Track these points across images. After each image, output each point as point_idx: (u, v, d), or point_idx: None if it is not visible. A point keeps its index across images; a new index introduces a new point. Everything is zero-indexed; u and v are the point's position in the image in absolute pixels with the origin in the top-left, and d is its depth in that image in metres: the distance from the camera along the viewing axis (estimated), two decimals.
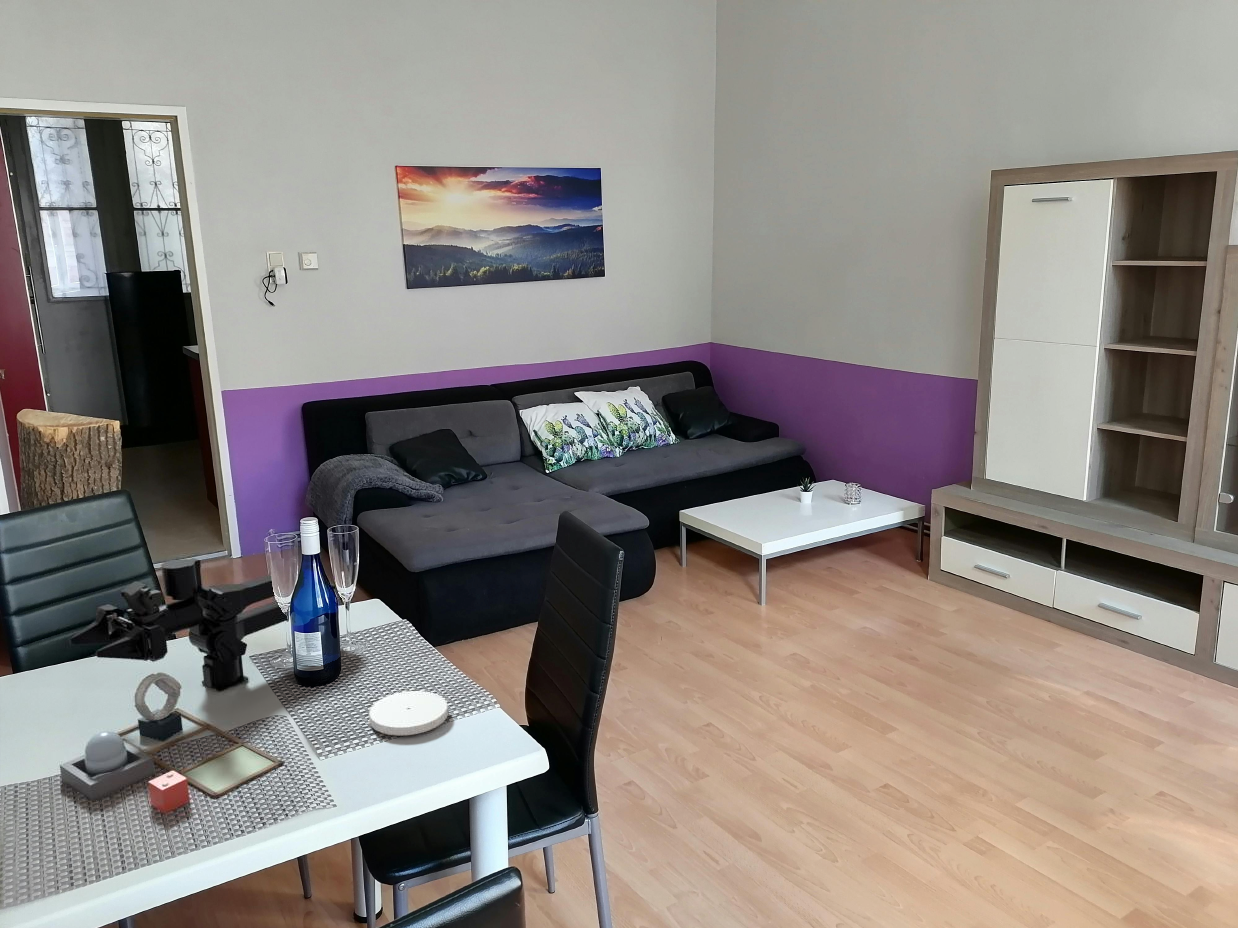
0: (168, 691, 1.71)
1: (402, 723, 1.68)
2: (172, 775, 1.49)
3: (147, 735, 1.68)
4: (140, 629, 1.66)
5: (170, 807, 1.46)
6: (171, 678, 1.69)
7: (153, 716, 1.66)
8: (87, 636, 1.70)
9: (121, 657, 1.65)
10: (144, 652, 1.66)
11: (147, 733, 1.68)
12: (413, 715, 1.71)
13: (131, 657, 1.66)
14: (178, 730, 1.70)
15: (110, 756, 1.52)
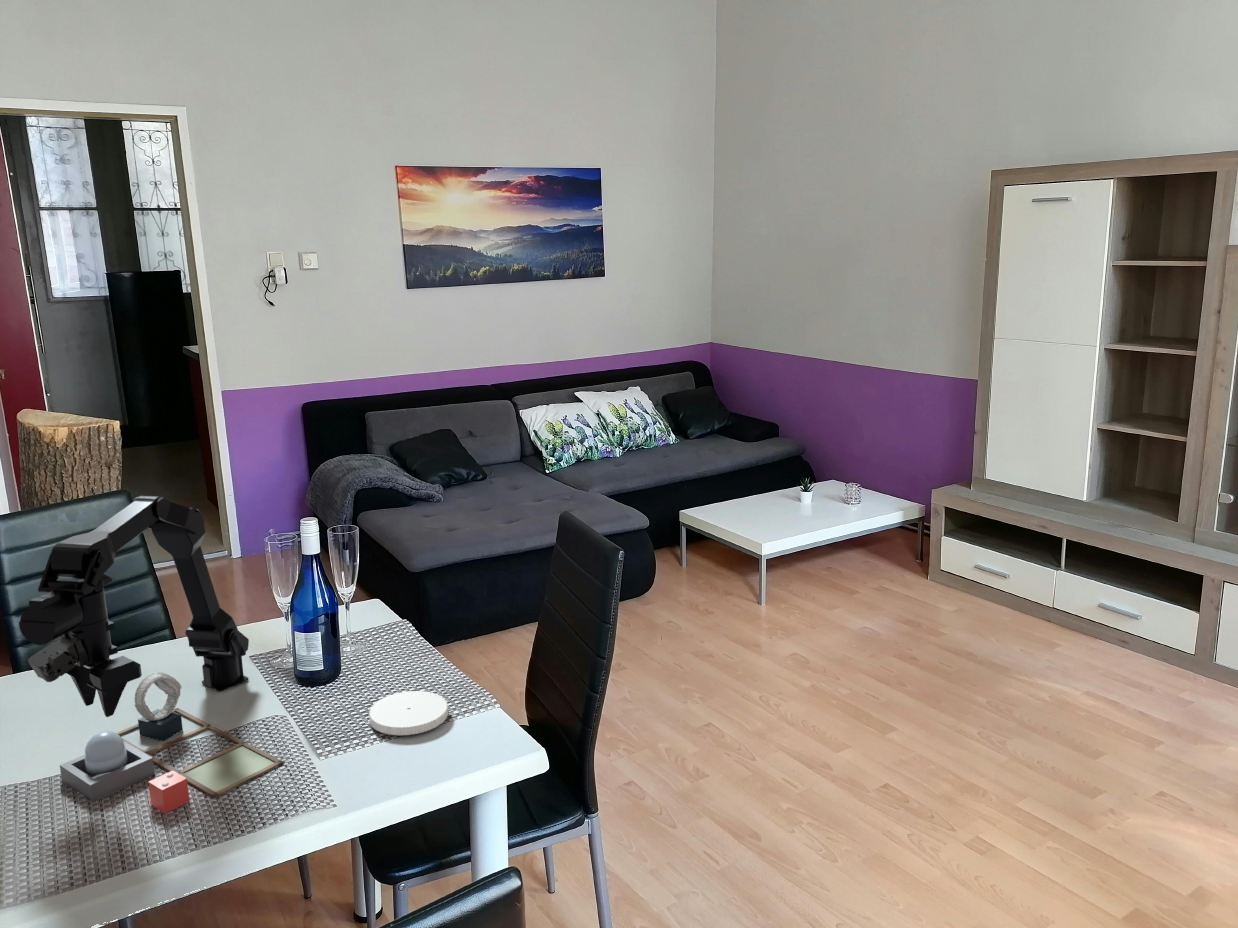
0: (168, 691, 1.71)
1: (402, 723, 1.68)
2: (172, 775, 1.49)
3: (147, 735, 1.68)
4: (94, 688, 1.46)
5: (170, 807, 1.46)
6: (171, 678, 1.69)
7: (153, 716, 1.66)
8: (87, 687, 1.54)
9: (120, 693, 1.51)
10: None
11: (147, 733, 1.68)
12: (413, 715, 1.71)
13: (124, 685, 1.50)
14: (178, 730, 1.70)
15: (110, 756, 1.52)
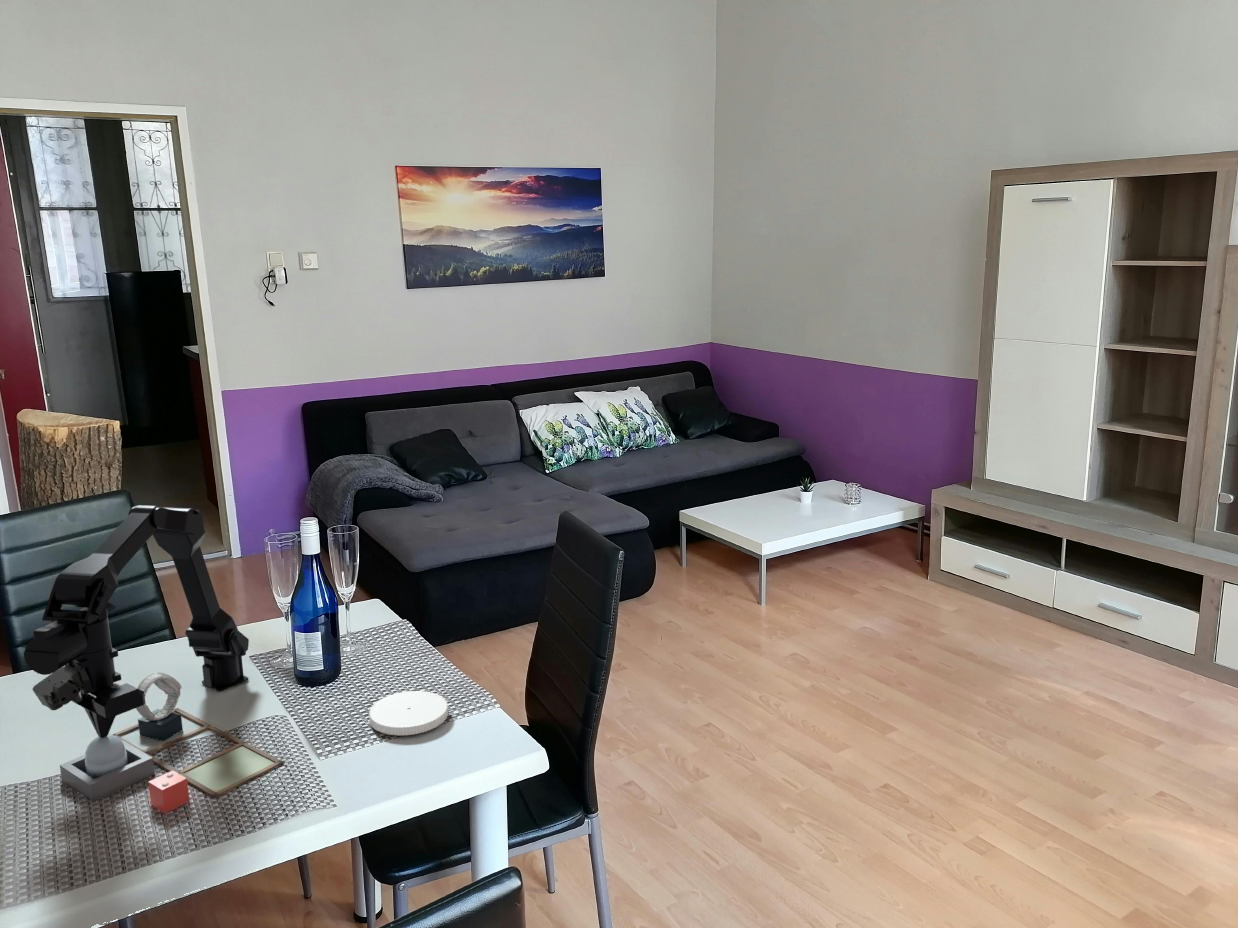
0: (168, 691, 1.71)
1: (402, 723, 1.68)
2: (172, 775, 1.49)
3: (147, 735, 1.68)
4: None
5: (170, 807, 1.46)
6: (171, 678, 1.69)
7: (153, 716, 1.66)
8: None
9: None
10: None
11: (147, 733, 1.68)
12: (413, 715, 1.71)
13: None
14: (178, 730, 1.70)
15: (110, 759, 1.53)
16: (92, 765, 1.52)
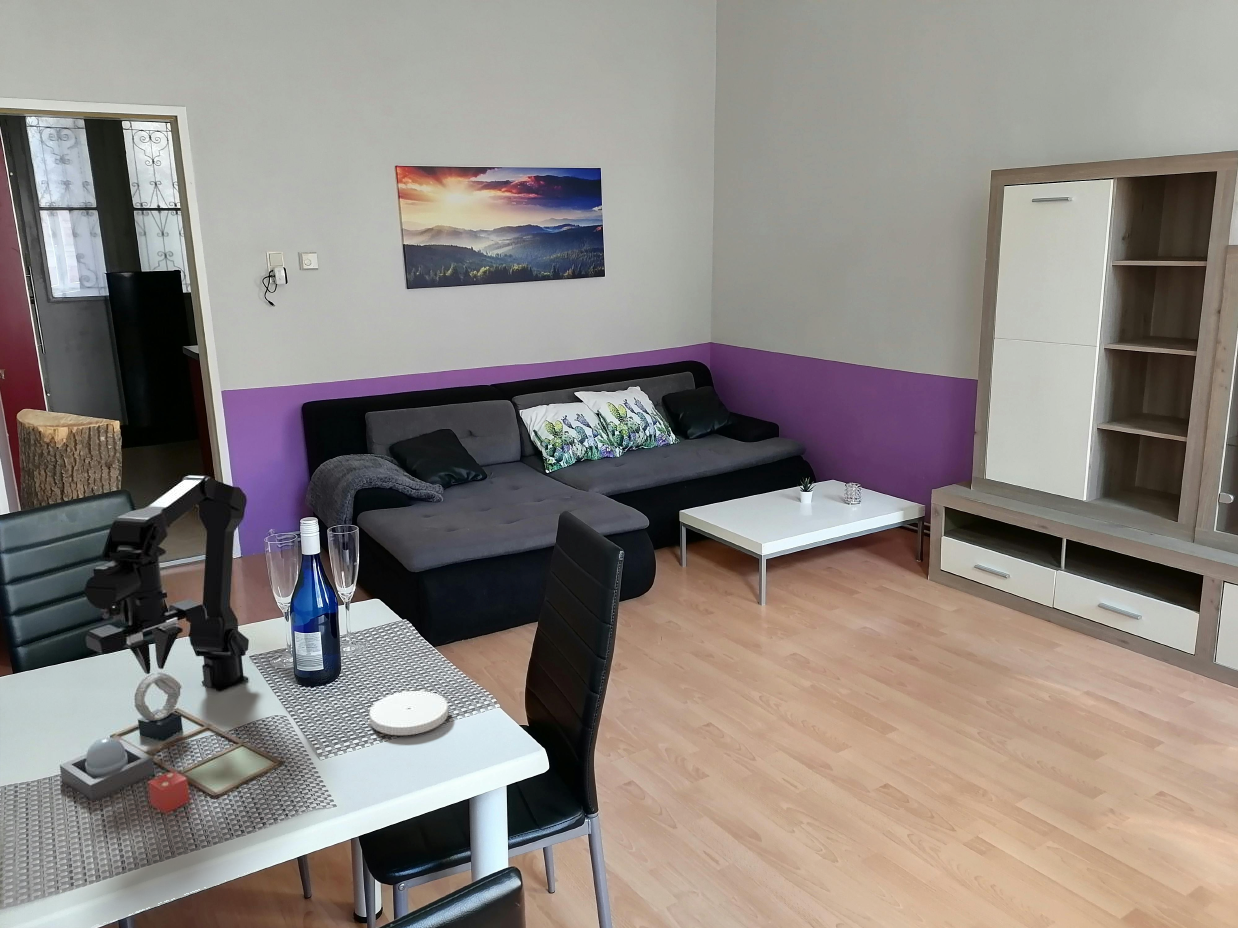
0: (168, 691, 1.71)
1: (402, 723, 1.68)
2: (172, 775, 1.49)
3: (147, 735, 1.68)
4: None
5: (170, 807, 1.46)
6: (171, 678, 1.69)
7: (153, 716, 1.66)
8: (159, 652, 1.67)
9: (143, 659, 1.64)
10: None
11: (147, 733, 1.68)
12: (413, 715, 1.71)
13: (140, 653, 1.63)
14: (178, 730, 1.70)
15: (111, 762, 1.53)
16: (92, 768, 1.52)
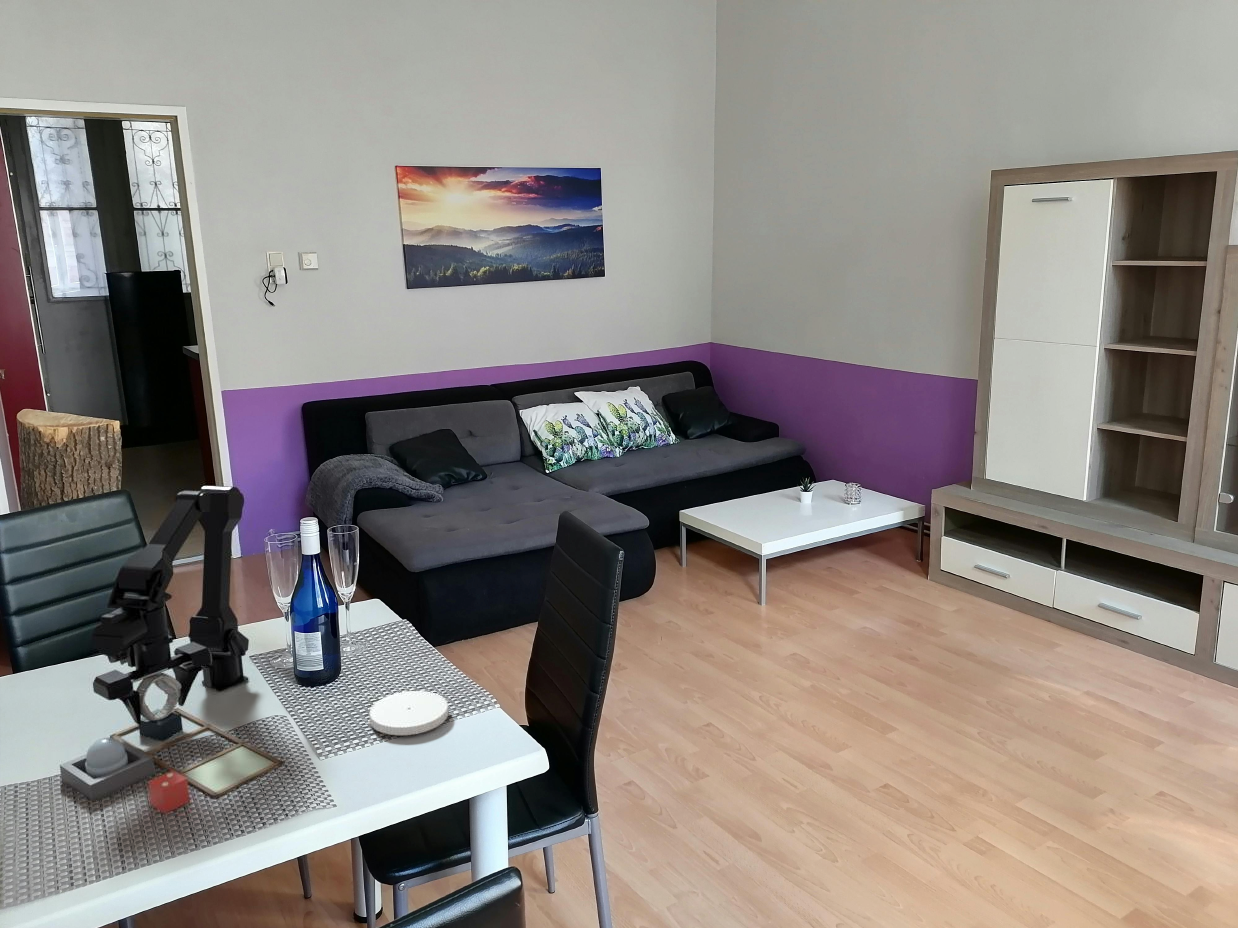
0: (168, 691, 1.71)
1: (402, 723, 1.68)
2: (172, 775, 1.49)
3: (147, 735, 1.68)
4: None
5: (170, 807, 1.46)
6: (171, 678, 1.69)
7: (153, 716, 1.66)
8: None
9: (133, 710, 1.63)
10: (118, 697, 1.61)
11: (147, 733, 1.68)
12: (413, 715, 1.71)
13: (130, 704, 1.62)
14: (178, 730, 1.70)
15: (111, 762, 1.53)
16: (92, 768, 1.52)
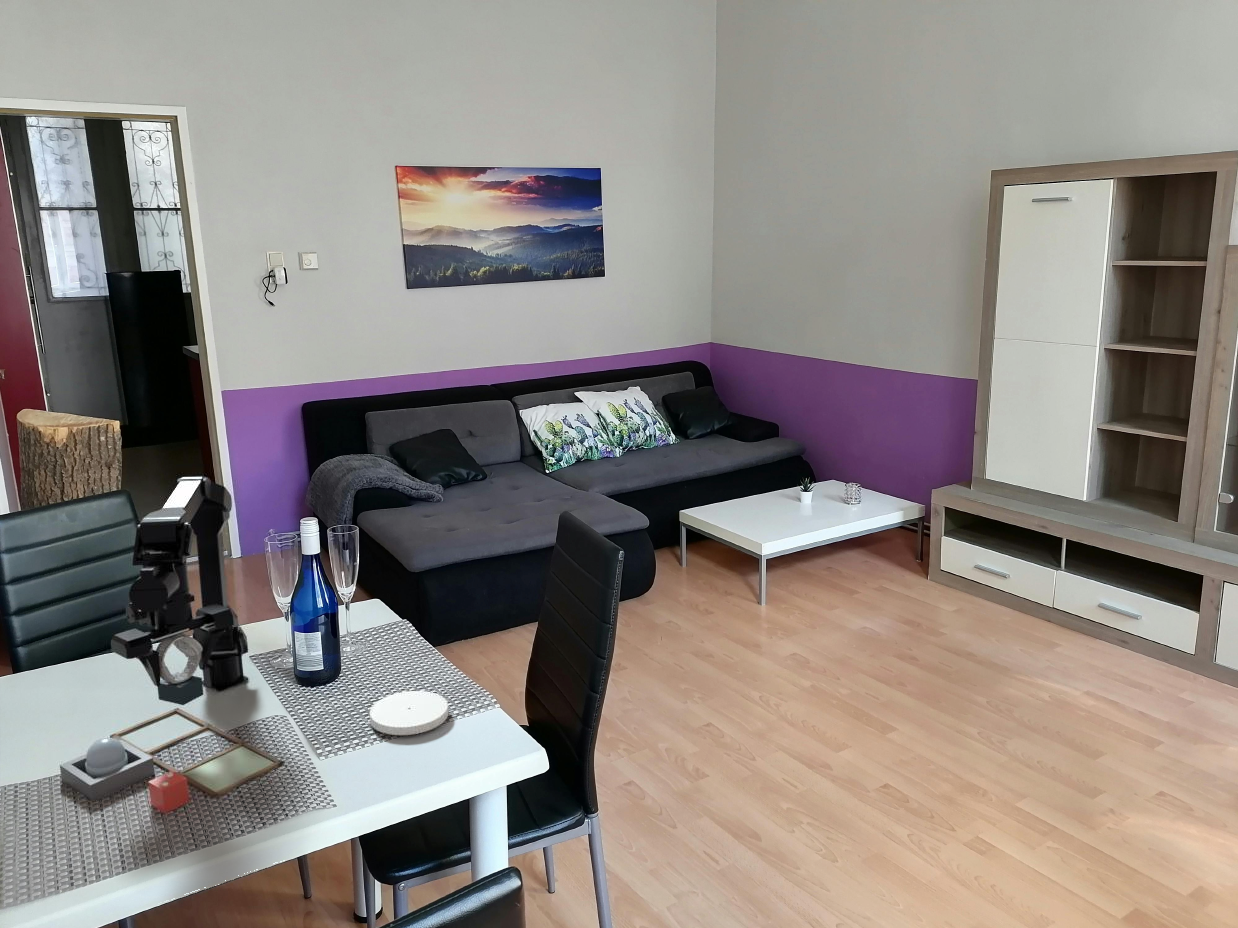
0: (189, 653, 1.63)
1: (403, 723, 1.68)
2: (172, 775, 1.49)
3: (166, 699, 1.60)
4: None
5: (170, 807, 1.46)
6: (192, 639, 1.61)
7: (173, 678, 1.59)
8: None
9: (152, 671, 1.56)
10: (136, 657, 1.54)
11: (166, 697, 1.60)
12: (413, 715, 1.71)
13: (149, 664, 1.55)
14: (199, 694, 1.62)
15: (111, 762, 1.53)
16: (92, 768, 1.52)
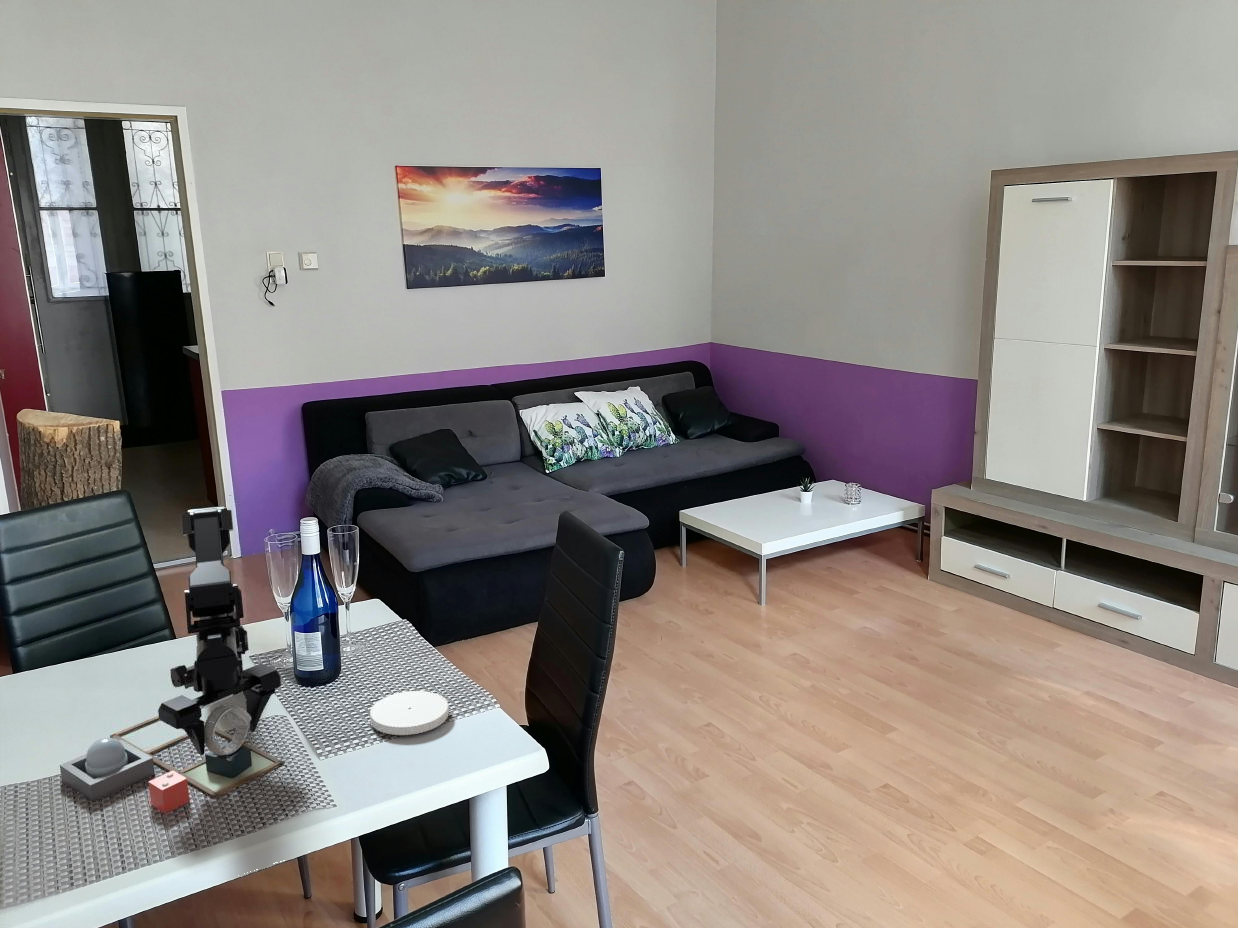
0: (237, 723, 1.59)
1: (403, 723, 1.68)
2: (172, 775, 1.49)
3: (215, 771, 1.56)
4: None
5: (170, 807, 1.46)
6: (241, 710, 1.57)
7: (222, 751, 1.54)
8: (250, 714, 1.60)
9: (197, 740, 1.51)
10: None
11: (215, 769, 1.56)
12: (413, 715, 1.71)
13: (194, 734, 1.50)
14: (247, 766, 1.58)
15: (111, 762, 1.53)
16: (92, 768, 1.52)
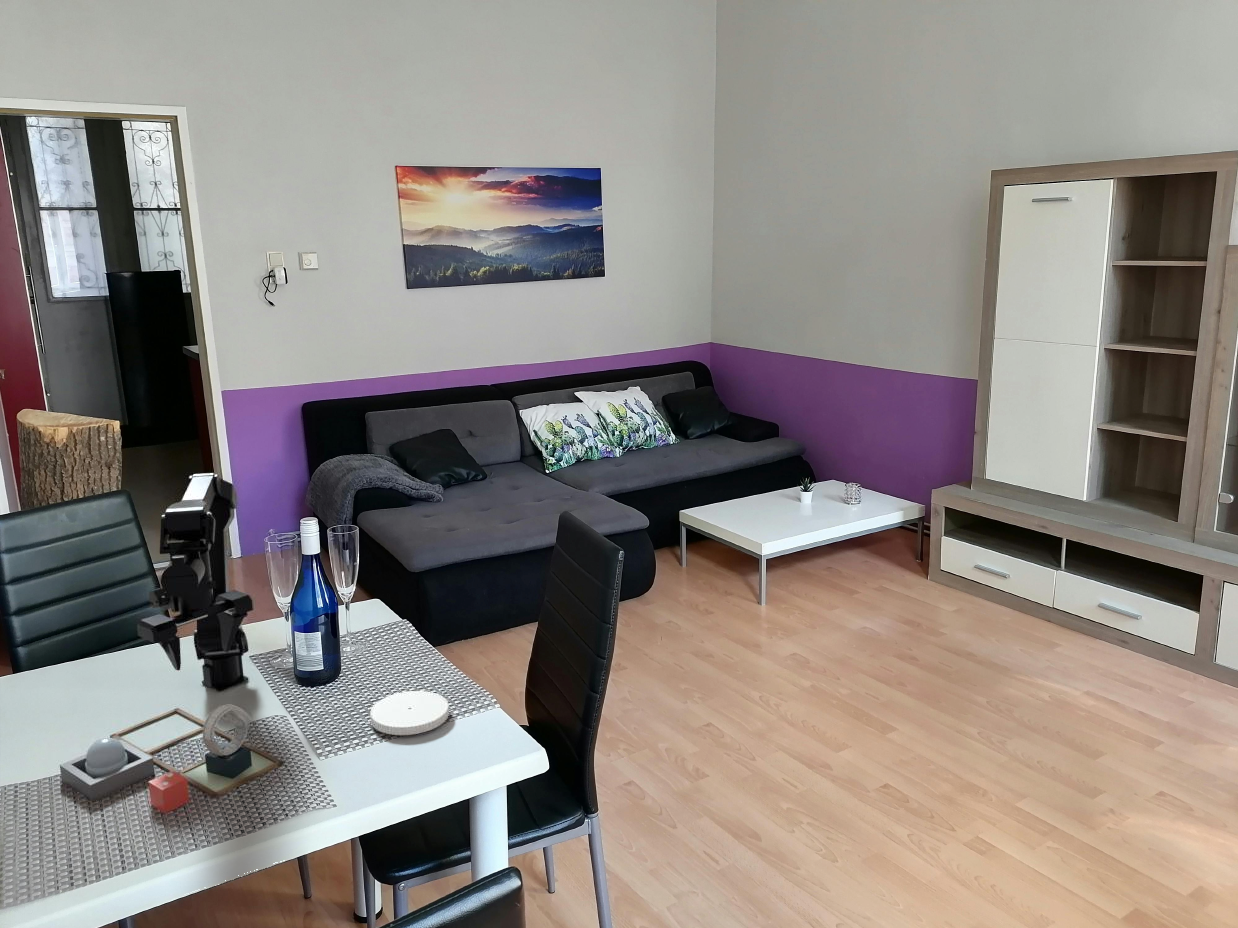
0: (236, 724, 1.59)
1: (403, 723, 1.68)
2: (172, 775, 1.49)
3: (215, 771, 1.56)
4: None
5: (170, 807, 1.46)
6: (240, 710, 1.57)
7: (222, 751, 1.54)
8: (224, 636, 1.72)
9: (173, 655, 1.62)
10: (159, 642, 1.60)
11: (215, 769, 1.56)
12: (414, 715, 1.71)
13: (171, 649, 1.61)
14: (247, 766, 1.58)
15: (111, 762, 1.53)
16: (92, 768, 1.52)
